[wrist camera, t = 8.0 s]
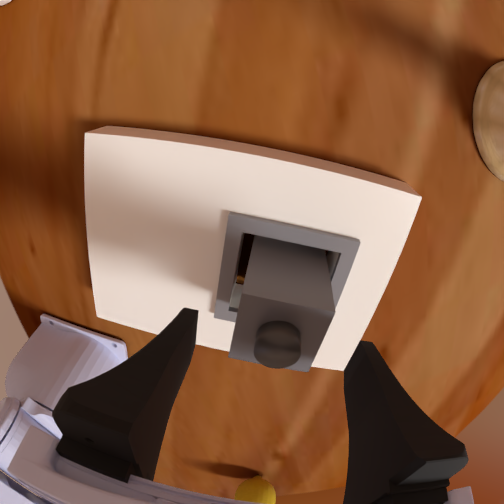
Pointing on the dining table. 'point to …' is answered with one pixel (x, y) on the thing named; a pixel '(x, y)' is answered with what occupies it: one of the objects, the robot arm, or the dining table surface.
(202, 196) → the socket board
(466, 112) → the dining table surface
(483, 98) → the hand bell
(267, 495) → the lemon
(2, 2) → the white upside-down bowl
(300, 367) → the plug
